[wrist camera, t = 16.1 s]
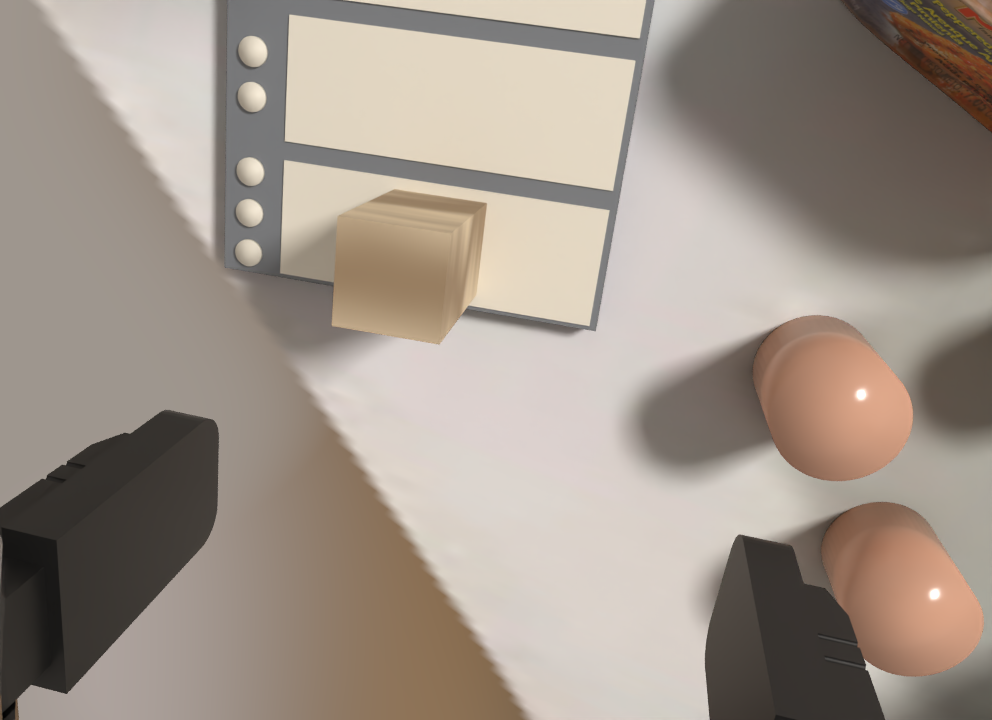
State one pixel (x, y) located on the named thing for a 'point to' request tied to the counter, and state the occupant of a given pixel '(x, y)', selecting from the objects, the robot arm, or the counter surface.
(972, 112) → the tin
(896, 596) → the cylinder
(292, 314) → the counter surface
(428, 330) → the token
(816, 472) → the peach dome knob
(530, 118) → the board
